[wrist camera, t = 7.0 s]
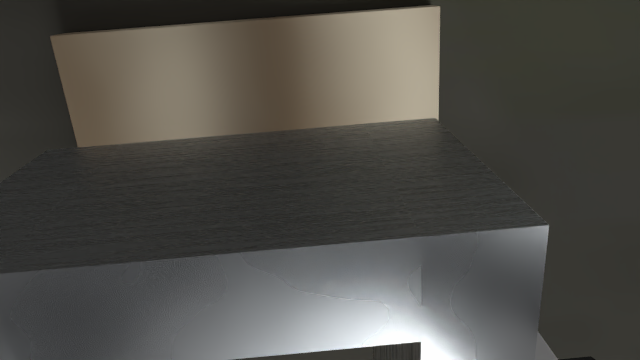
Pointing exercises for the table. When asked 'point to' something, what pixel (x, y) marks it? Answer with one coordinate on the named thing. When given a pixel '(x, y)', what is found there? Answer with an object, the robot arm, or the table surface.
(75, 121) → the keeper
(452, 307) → the link
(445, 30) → the table surface
